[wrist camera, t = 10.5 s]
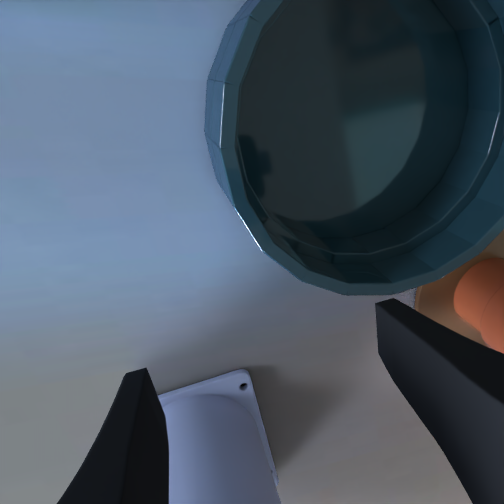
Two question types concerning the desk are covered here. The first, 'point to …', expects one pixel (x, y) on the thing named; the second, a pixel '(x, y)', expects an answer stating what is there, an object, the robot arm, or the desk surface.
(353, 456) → the desk surface
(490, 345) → the flower pot
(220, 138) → the bowl
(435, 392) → the robot arm
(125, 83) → the desk surface
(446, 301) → the coaster
